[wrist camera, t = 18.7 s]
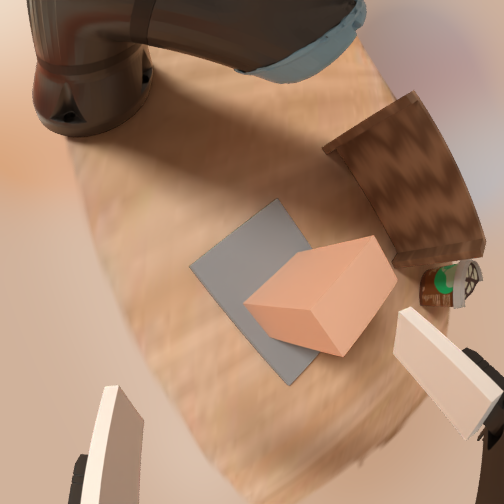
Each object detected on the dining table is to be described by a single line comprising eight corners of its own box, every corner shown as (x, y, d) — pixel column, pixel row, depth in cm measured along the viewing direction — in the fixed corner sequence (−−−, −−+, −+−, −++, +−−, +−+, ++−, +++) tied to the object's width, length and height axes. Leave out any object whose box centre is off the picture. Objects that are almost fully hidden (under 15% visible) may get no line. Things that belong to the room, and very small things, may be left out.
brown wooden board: (321, 147, 38) (405, 94, 24) (334, 139, 39) (414, 90, 25) (394, 268, 41) (482, 257, 27) (402, 255, 43) (486, 241, 28)
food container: (437, 254, 48) (478, 248, 39) (443, 283, 49) (483, 279, 40) (409, 276, 43) (458, 271, 34) (416, 308, 43) (464, 308, 34)
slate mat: (188, 266, 28) (190, 266, 28) (274, 199, 34) (277, 198, 33) (286, 384, 31) (289, 385, 31) (349, 312, 36) (353, 312, 36)
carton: (242, 303, 30) (310, 309, 19) (297, 252, 33) (373, 235, 22) (269, 337, 30) (343, 357, 20) (319, 285, 34) (397, 280, 23)
